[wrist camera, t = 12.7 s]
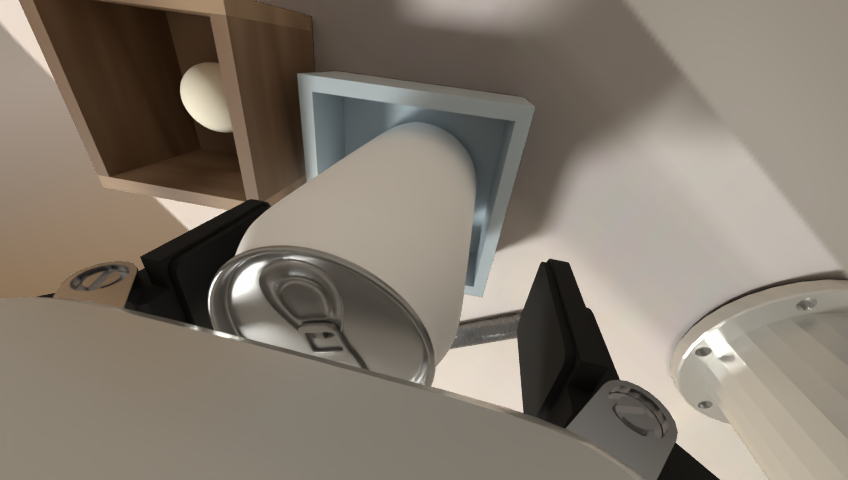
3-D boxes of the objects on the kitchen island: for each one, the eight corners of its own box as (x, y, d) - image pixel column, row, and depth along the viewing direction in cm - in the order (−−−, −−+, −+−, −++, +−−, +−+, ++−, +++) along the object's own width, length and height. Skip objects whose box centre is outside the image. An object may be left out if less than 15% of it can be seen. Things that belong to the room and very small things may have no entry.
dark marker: (525, 307, 22) (528, 323, 20) (531, 323, 22) (534, 340, 21) (384, 334, 26) (378, 350, 24) (392, 348, 26) (387, 363, 25)
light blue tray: (523, 97, 15) (535, 107, 12) (482, 257, 20) (482, 297, 17) (336, 71, 16) (297, 73, 12) (341, 231, 21) (313, 264, 17)
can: (465, 106, 15) (408, 201, 5) (486, 223, 18) (478, 436, 8) (348, 136, 17) (131, 250, 7) (385, 237, 20) (271, 425, 10)
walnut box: (311, 16, 15) (221, -8, 10) (321, 174, 19) (262, 216, 14) (161, -3, 16) (3, -35, 10) (202, 154, 20) (103, 187, 15)
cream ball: (265, 66, 16) (219, 67, 13) (273, 130, 17) (235, 143, 15) (207, 58, 16) (151, 57, 13) (221, 122, 18) (173, 133, 15)
